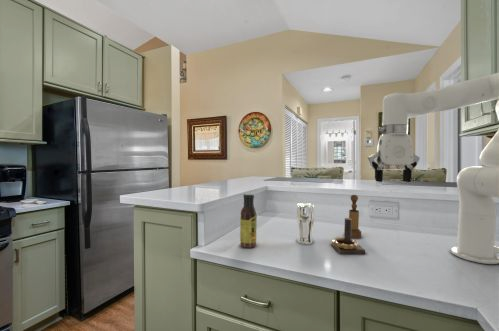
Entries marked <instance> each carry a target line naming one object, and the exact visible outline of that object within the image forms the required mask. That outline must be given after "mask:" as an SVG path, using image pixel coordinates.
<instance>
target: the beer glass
mask: <svg viewBox="0 0 499 331" xmlns="http://www.w3.org/2000/svg"><path fill="white" fill-rule="evenodd" d="M314 223H315V205H314V204H312V203H297V204H296V225H297V237H296V238H297V239H296V241H297V243H298V244H302V245H311V244H313V241H314V240H313V236H312V233H313V227H314Z"/></svg>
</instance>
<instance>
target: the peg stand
mask: <svg viewBox="0 0 499 331" xmlns="http://www.w3.org/2000/svg"><path fill="white" fill-rule="evenodd" d="M351 226H352V219H350V218H349V217H345V218H344V228H343V230H344V232H343V234H344V235H343V237H344V242H338V243H340V244H346V245H352V244H351V239H352V238H351ZM330 245H331V247H332V248H334V249H335V251H337V252H338V254H340V255H365V254H366V249H365V248H363V246H361V245H359V246H358V248H356V249H342V248H338V247H336V246H334V245H333V244H332V240H330Z"/></svg>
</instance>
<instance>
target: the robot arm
mask: <svg viewBox="0 0 499 331" xmlns="http://www.w3.org/2000/svg"><path fill="white" fill-rule="evenodd" d="M495 100H498V101H496V104H495V114H496V116H497V119H498V120H499V71H497V72H495V73H492V74H488V75H484V76H480V77H476V78H471V79H468V80H462V81H459V82H455V83H451V84H448V85H445V86H443V87H441V88H438V89H435V90H432V91H419V92H411V93H405V92H393V93H389V94H386V95H385V96H384V97H383V99H382V120H381V121H382V122H381V127H379V128H378V132H381V135H379V138H378V143H377V149H376V152H374V153H373V154H371V155H369V156H367V160H368V162H369V165H370V166H371V167H372V168H373V170H374V179H375V182H378V183H382V182H383V181H384V180H383V178H384V176H383V175H384V170H382V169H383V168H384V166H385V165H388V166H389V165H390V166H391V165H392V166H397V165H398V166H400V165H401V166H402V167H403V169H402V181H403V182H406V183H411V182H412V172H413V170H414V169H415V167H417V166H418V163H419V161H420V159H421V157H420V156H418V155H416V154H415V153H414V152H413V150H414V149H413V143H412V142H413V141H412V137H411V134H408V132H409V119H412V118H413V119H414V118H417V117H418V118H419V117H422V116H427V115H429V114H433V113H434V114H435V113H439V112H440V113H441V112H447V111H453V110H457V109H461V108H466V107H469V106H474V105H478V104H481V103H483V104H484V103H487V102H490V101H495ZM375 159H376V161H375ZM479 161H480V163H481V164H482V166H481V165H475V166H474V165H473V166H467V167H465V168H463V169H461V170H460V171H459V172H458V174H457V175H456V186H457V192H458V222H457V240H456V242H457V243H456V246H454V247H452V248H451V250H450V253H452V254H453V255H454V256H456V257H458V258H461V259H463V260H466V261H470V262H474V263H479V264H483V265H484V264H486V265H497V264H499V256H498V255H497V254H499V246H496V245H495V242H496V227H497V226H496V224H497V205H496V202H495V200H494V198H498V199H499V129H498V130H497V131H496V132H495V134H494V136H492V138H491V139H490V141H489V142H488V143H487V144H486V146H484V148H483V149H482V151H481V152H480V155H479Z"/></svg>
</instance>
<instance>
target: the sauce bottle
mask: <svg viewBox="0 0 499 331" xmlns="http://www.w3.org/2000/svg"><path fill="white" fill-rule="evenodd" d="M254 199H255V194H254V193H244V194H243V207H242V208H241V210H240V220H239V222H240V224H239V225H240V227H239V232H240V233H239V242H240V247H242V248H248V249H250V248H254V247H256V245H257V227H258V226H257V223H258V222H257V218H258V217H257V216H258V215H257V212H256V208H255V206H254Z"/></svg>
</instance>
